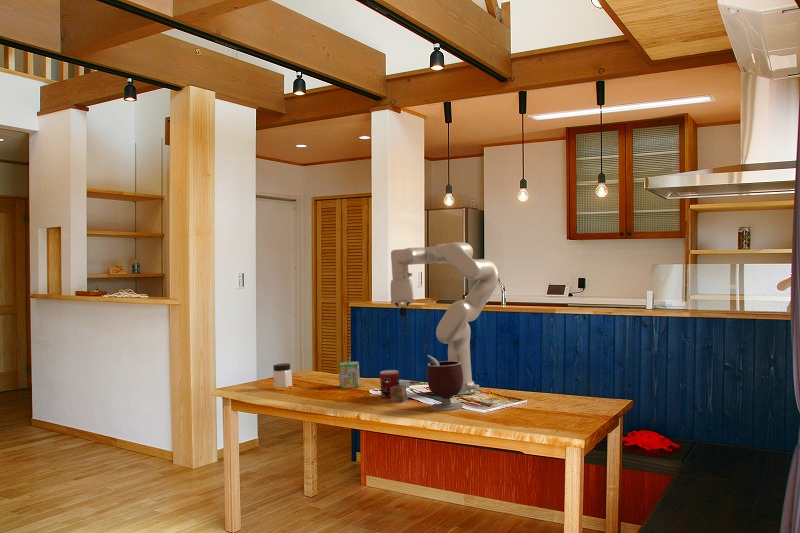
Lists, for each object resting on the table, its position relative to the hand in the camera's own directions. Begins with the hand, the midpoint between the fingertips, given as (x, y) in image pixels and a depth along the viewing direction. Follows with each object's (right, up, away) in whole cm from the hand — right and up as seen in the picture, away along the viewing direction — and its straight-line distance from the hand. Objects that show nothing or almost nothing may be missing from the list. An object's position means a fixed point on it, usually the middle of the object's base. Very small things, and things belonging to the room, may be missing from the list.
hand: (403, 316), depth 305 cm
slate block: (-1, -33, -6) cm, 34 cm away
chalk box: (-25, -35, +17) cm, 47 cm away
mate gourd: (+16, -32, -44) cm, 57 cm away
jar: (-59, -38, +23) cm, 73 cm away
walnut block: (-2, -33, -26) cm, 42 cm away
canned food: (-5, -34, -16) cm, 38 cm away
